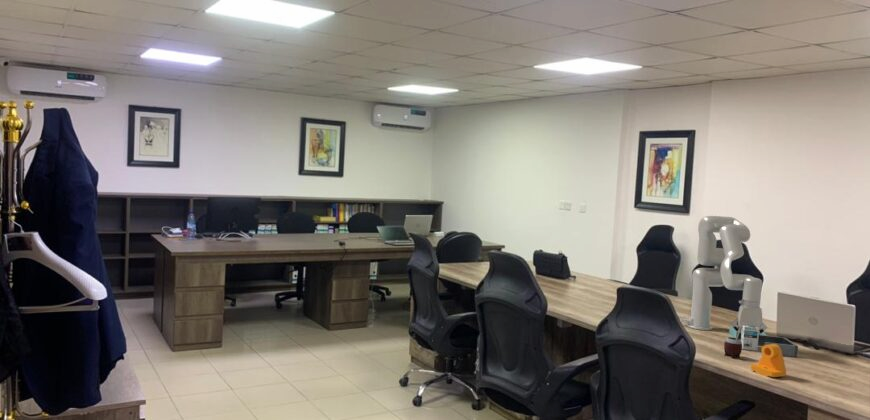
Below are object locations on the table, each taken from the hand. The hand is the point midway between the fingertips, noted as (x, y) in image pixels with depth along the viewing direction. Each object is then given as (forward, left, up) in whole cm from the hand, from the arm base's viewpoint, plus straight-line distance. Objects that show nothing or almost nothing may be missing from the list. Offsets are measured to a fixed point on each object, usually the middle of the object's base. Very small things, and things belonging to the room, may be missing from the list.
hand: (747, 341), depth 293 cm
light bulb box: (0, 0, -3) cm, 3 cm away
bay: (+11, 0, -3) cm, 11 cm away
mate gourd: (-11, -20, -3) cm, 23 cm away
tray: (+7, +20, -3) cm, 21 cm away
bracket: (-4, -43, -3) cm, 44 cm away
